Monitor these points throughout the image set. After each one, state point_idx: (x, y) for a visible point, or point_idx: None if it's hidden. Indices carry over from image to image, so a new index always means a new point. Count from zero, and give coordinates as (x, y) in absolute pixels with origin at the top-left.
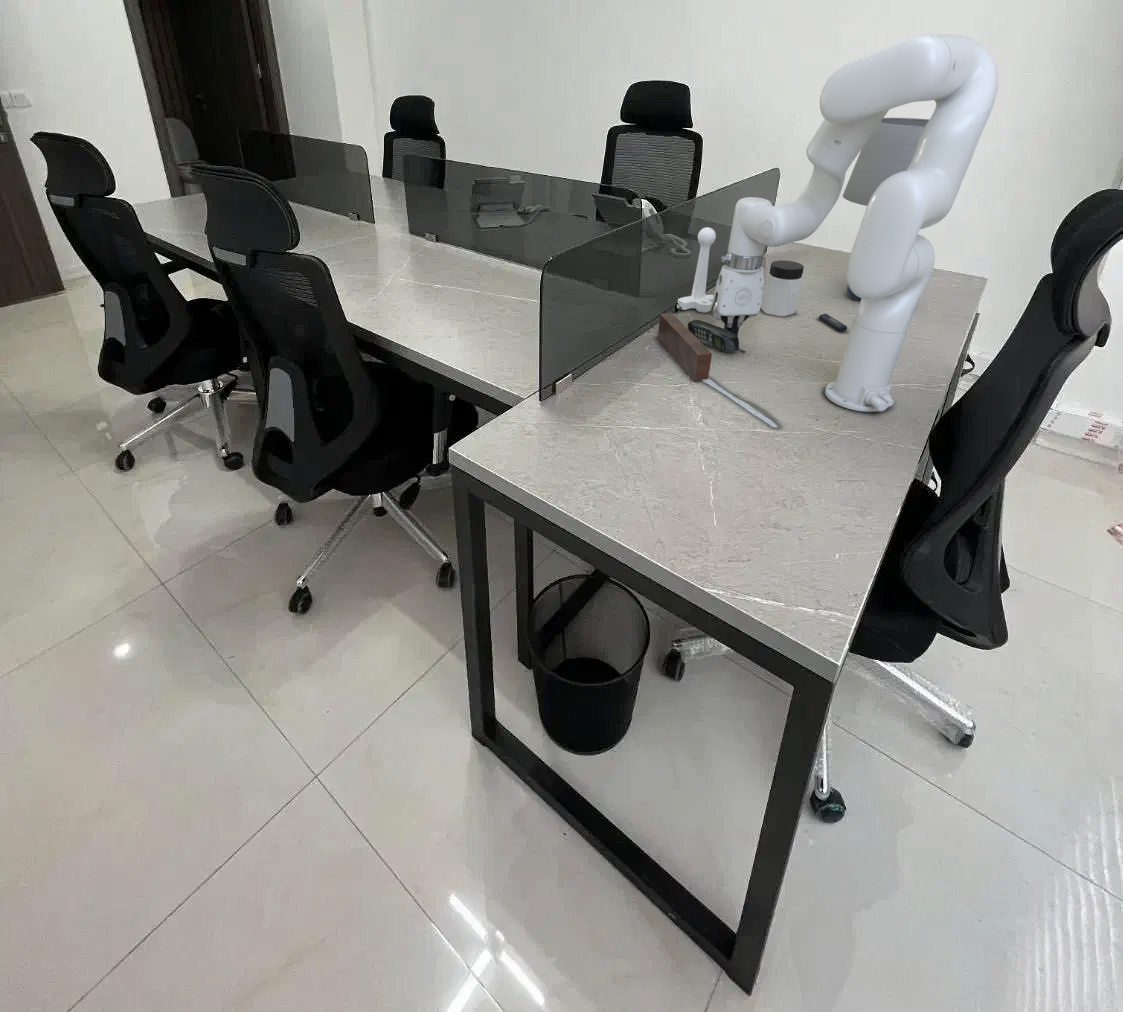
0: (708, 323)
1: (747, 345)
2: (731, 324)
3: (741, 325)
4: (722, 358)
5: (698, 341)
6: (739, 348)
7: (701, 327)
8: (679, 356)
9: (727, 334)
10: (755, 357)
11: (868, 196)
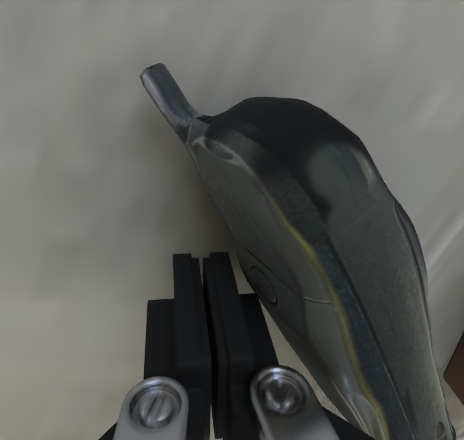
0: (401, 431)
1: (38, 279)
2: (257, 401)
3: (129, 394)
4: (338, 81)
5: None
6: (194, 125)
7: (442, 393)
8: None
9: (380, 225)
10: (30, 47)
11: None
